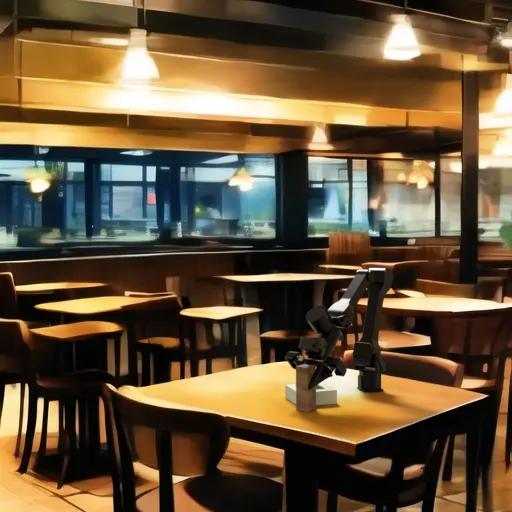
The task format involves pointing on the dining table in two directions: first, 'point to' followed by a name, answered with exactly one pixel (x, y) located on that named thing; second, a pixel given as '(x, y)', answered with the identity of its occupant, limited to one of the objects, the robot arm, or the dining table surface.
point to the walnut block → (305, 388)
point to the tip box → (323, 394)
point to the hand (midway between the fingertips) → (303, 387)
